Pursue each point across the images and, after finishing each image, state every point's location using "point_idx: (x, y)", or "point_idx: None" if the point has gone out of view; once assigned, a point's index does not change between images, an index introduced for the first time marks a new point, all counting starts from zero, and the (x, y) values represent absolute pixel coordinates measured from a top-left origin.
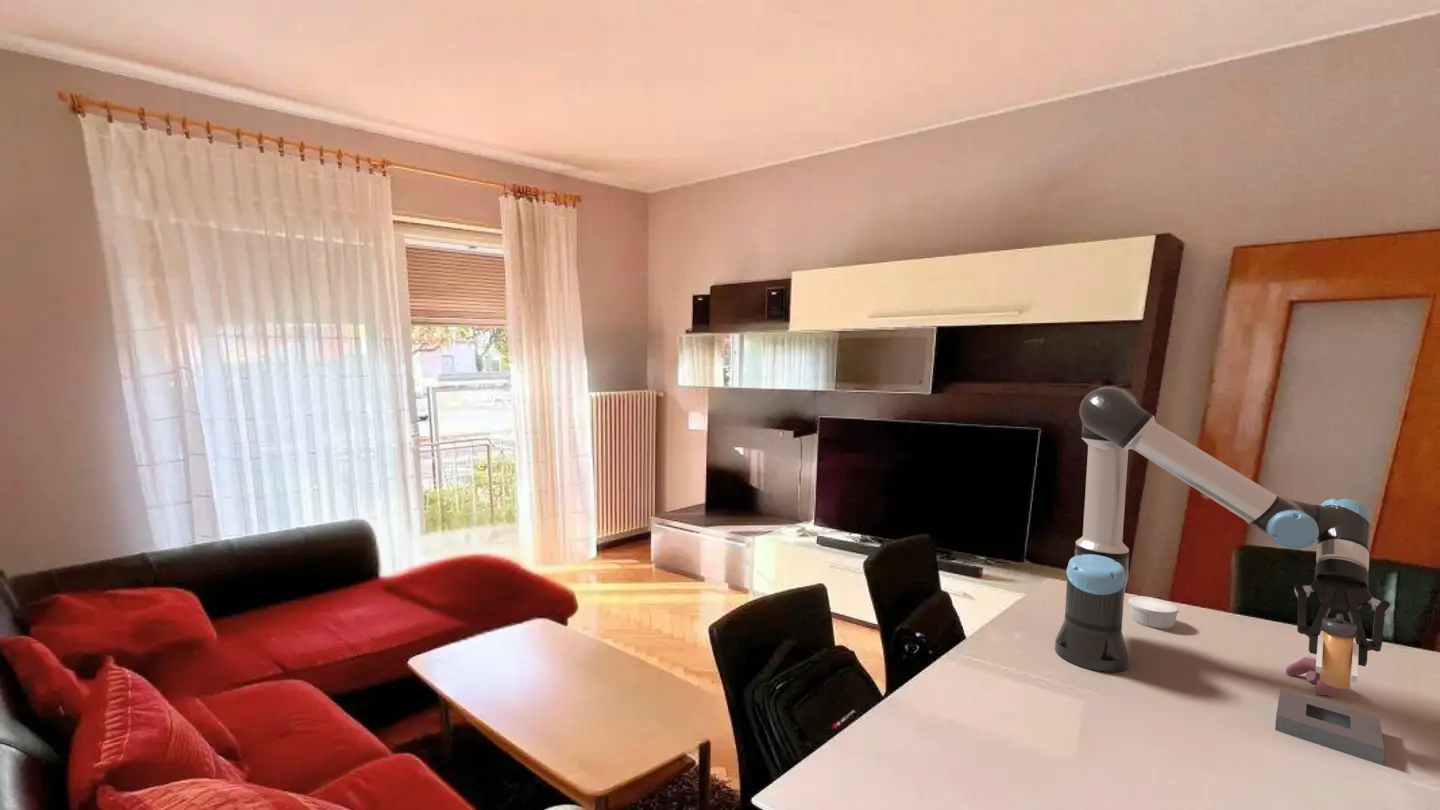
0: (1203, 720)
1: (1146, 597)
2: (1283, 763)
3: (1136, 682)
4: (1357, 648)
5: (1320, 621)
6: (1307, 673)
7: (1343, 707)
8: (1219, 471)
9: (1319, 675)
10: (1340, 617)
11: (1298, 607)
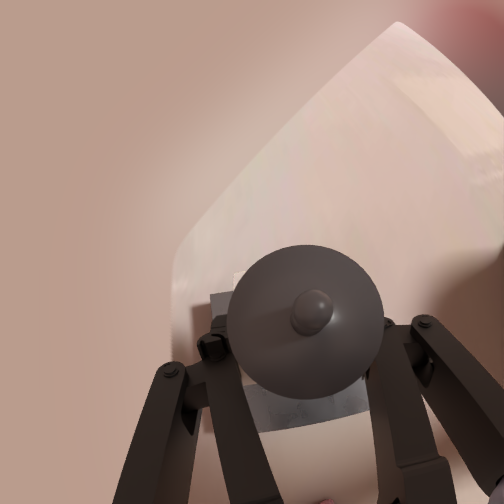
0: (401, 218)
1: None
2: (303, 189)
3: (486, 254)
4: None
5: (388, 370)
6: None
7: (280, 425)
8: None
9: None
10: (305, 291)
11: (489, 376)
